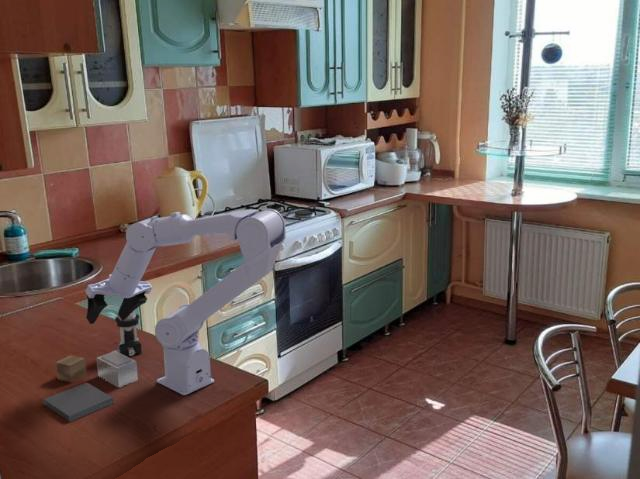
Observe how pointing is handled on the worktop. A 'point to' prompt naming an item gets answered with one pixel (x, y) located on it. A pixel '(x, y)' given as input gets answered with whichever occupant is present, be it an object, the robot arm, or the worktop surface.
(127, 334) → the push button
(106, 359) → the block
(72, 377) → the tan cube
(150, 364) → the worktop surface
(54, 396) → the stand
